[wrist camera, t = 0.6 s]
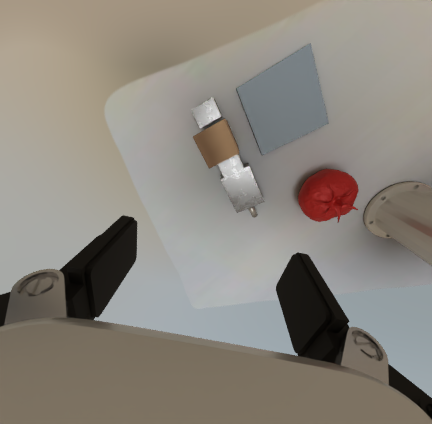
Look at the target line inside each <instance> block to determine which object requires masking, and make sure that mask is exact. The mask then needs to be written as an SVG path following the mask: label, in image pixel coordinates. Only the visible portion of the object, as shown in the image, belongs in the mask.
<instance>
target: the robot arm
mask: <svg viewBox="0 0 432 424" xmlns="http://www.w3.org/2000/svg"><path fill="white" fill-rule="evenodd" d="M364 223H365V225H366V227H367V229H368V230H369V231H371V232H372V233H373V234H375V235H376V236H379V237H382V238H394V239H395V240H396V241H398V242H399V243H401V244H402V245H403V246H405V247H406V248H408V249H409V250H410V251H412V252H413V253H415V254H416V255H417V256H419V257H420V258H422V259H423V260H424V261H426V262H427V263H429V264H430V265H431V266H432V187H430V186H428V185H426V184H423V183H419V182H403V183H398V184H396V185H393V186H390V187H388V188H386V189H385V190H383V191H382V192H380V193H379V194H378V195H376V196H375V197H374V198H373V199H372V201H371V202H370V203H369V205H368V206H367V208H366V211H365V213H364ZM136 253H137V221H135V220H134V218H133V217H128V216H121V217H120V218H119V219H118V220H117V221H116V222H115V223H114V224H112V225H111V226H110V228H108V229H107V230H106V231H105V232H104V233H103V234H101V235H99V236H98V237H96V238H95V239H94V240H93V241H92V242H91V243H90V244H88V245H87V246H86V247H85V248H84V249H83V250H82V251H81V252H80V253H78V254H77V255H76V256H75V257H74V258H73V259H72V260H70V261H69V262H68V263H67V264H66V265H65V266H64V267H63V268H62V269H60V270H55V269H46V270H39V271H36V272H33V273H31V274H28V275H26V276H24V277H23V278H22V279H20V280H19V281H18V282H17V283H16V284H15V285H14V286H13V288H12V290H11V292H9V293H6V294H2V295H0V424H432V398H431V397H429V396H428V395H427V394H426V393H424V392H423V391H422V390H421V389H419V388H418V387H417V386H416V385H414V384H413V383H412V382H411V381H409V380H408V379H407V378H406V377H404V376H403V375H402V374H400V373H399V372H398V371H397V370H395V369H394V368H393V367H392V366H390V365H389V364H388V358H387V355H386V353H385V351H384V349H383V348H382V346H381V345H380V344H379V342H378V341H377V340H376V339H375V338H373V337H372V336H371V335H370V334H369V333H367V332H366V331H364V330H362V329H360V328H357V327H351V328H349V326H348V324H347V323H348V322H349V320H348V318H347V317H346V315H345V313H344V312H343V310H342V309H341V307H340V305H339V304H338V302H337V300H336V299H335V297H334V296H333V294H332V292H331V291H330V289H329V288H328V286H327V284H326V283H325V281H324V279H323V278H322V276H321V275H320V273H319V271H318V270H317V268H316V267H315V265H314V263H313V262H312V260H311V259H310V257H309V256H308V255H307V254H302V253H296V254H294V255H293V256H292V257H291V259H290V261H289V263H288V265H287V267H286V268H285V270H284V272H283V274H282V276H281V278H280V280H279V281H278V283H277V286H276V291H277V295H278V298H279V302H280V305H281V308H282V311H283V315H284V318H285V322H286V325H287V328H288V332H289V335H290V338H291V342H292V345H293V348H294V351H295V352H296V353H298V356H295V355H290V354H284V353H279V352H273V351H267V350H262V349H257V348H252V347H246V346H241V345H235V344H230V343H224V342H219V341H212V340H208V339H202V338H195V337H191V336H185V335H179V334H173V333H167V332H162V331H156V330H151V329H145V328H139V327H133V326H127V325H121V324H114V323H108V322H102V321H95V320H94V318H95V317H99V316H100V314H101V313H102V312H103V310H104V309H105V307H106V306H107V304H108V302H109V301H110V299H111V298H112V296H113V295H114V293H115V292H116V290H117V289H118V287H119V286H120V284H121V282H122V281H123V280H124V278H125V276H126V275H127V273H128V272H129V270H130V269H131V267H132V266H133V264H134V262H135V260H136V255H137V254H136Z"/></svg>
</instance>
